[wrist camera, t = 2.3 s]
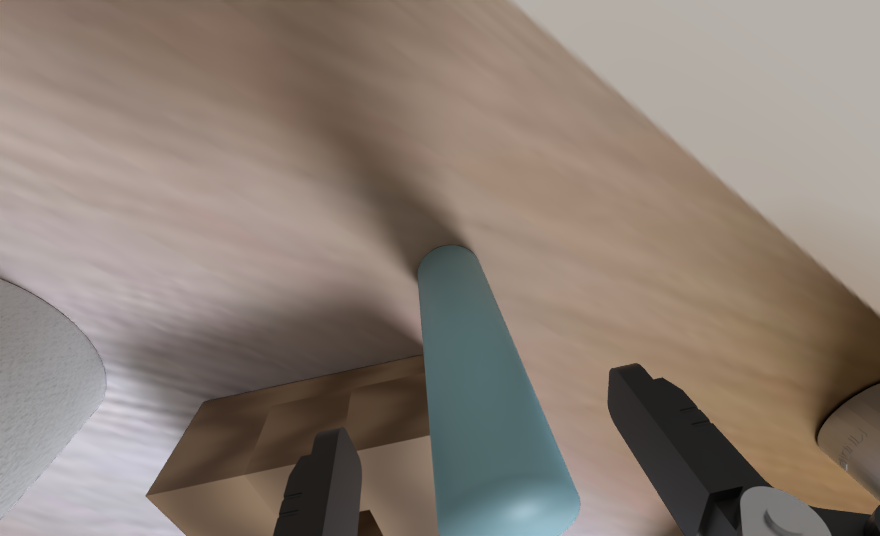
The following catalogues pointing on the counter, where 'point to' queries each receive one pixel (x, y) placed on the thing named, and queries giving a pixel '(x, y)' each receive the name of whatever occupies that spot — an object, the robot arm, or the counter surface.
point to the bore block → (305, 453)
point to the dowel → (485, 413)
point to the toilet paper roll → (40, 388)
